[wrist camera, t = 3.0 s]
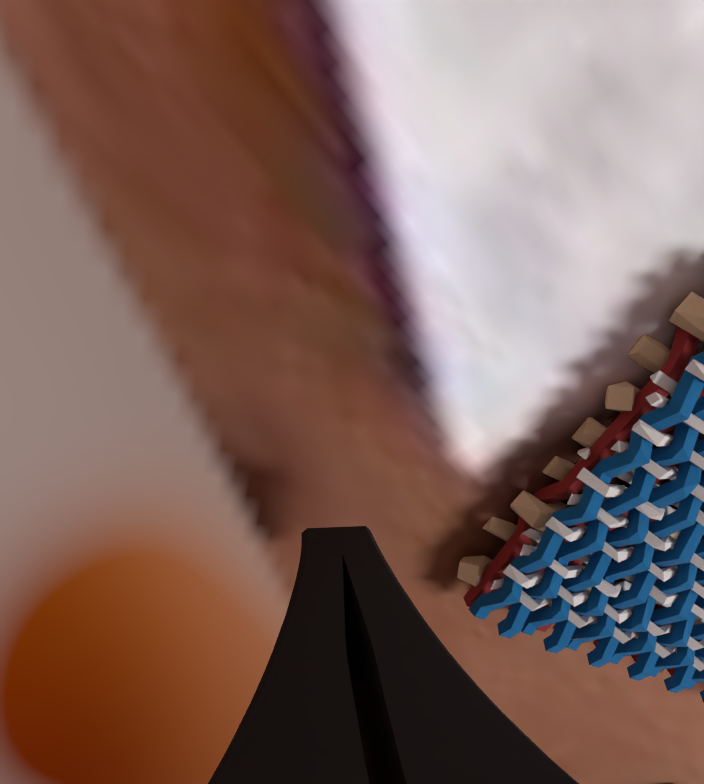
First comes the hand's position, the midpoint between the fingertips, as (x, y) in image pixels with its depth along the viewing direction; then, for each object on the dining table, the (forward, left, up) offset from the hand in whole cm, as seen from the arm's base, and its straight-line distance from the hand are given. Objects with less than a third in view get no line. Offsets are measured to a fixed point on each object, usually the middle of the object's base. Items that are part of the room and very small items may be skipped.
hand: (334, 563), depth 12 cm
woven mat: (0, -10, -2) cm, 10 cm away
